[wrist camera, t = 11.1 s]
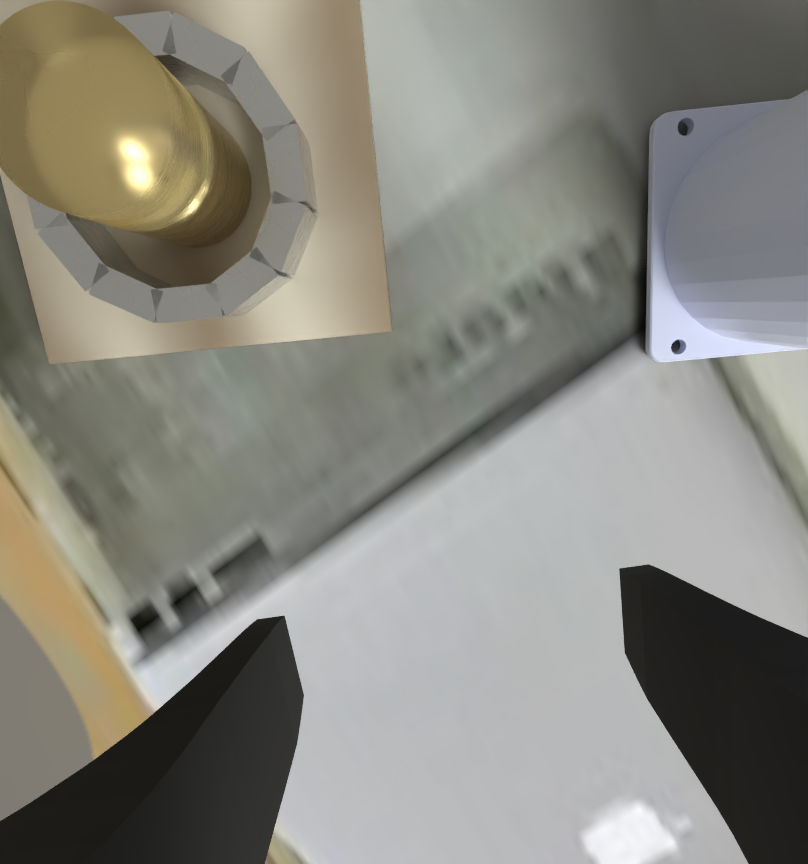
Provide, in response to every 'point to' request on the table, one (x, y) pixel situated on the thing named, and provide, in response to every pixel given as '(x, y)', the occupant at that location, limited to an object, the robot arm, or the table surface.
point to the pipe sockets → (284, 219)
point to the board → (334, 185)
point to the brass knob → (113, 130)
